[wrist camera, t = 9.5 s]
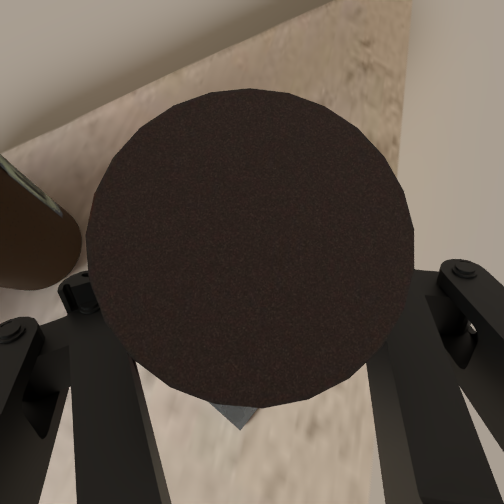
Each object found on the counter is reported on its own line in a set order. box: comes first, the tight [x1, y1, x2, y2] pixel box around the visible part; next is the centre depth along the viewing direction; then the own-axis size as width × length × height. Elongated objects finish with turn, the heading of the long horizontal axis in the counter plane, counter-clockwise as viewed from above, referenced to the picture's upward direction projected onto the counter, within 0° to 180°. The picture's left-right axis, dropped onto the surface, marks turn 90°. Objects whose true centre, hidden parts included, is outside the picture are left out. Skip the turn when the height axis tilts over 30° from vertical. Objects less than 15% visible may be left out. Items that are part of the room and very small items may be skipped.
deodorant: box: [86, 88, 414, 408], centre depth 14 cm, size 6×6×15 cm
